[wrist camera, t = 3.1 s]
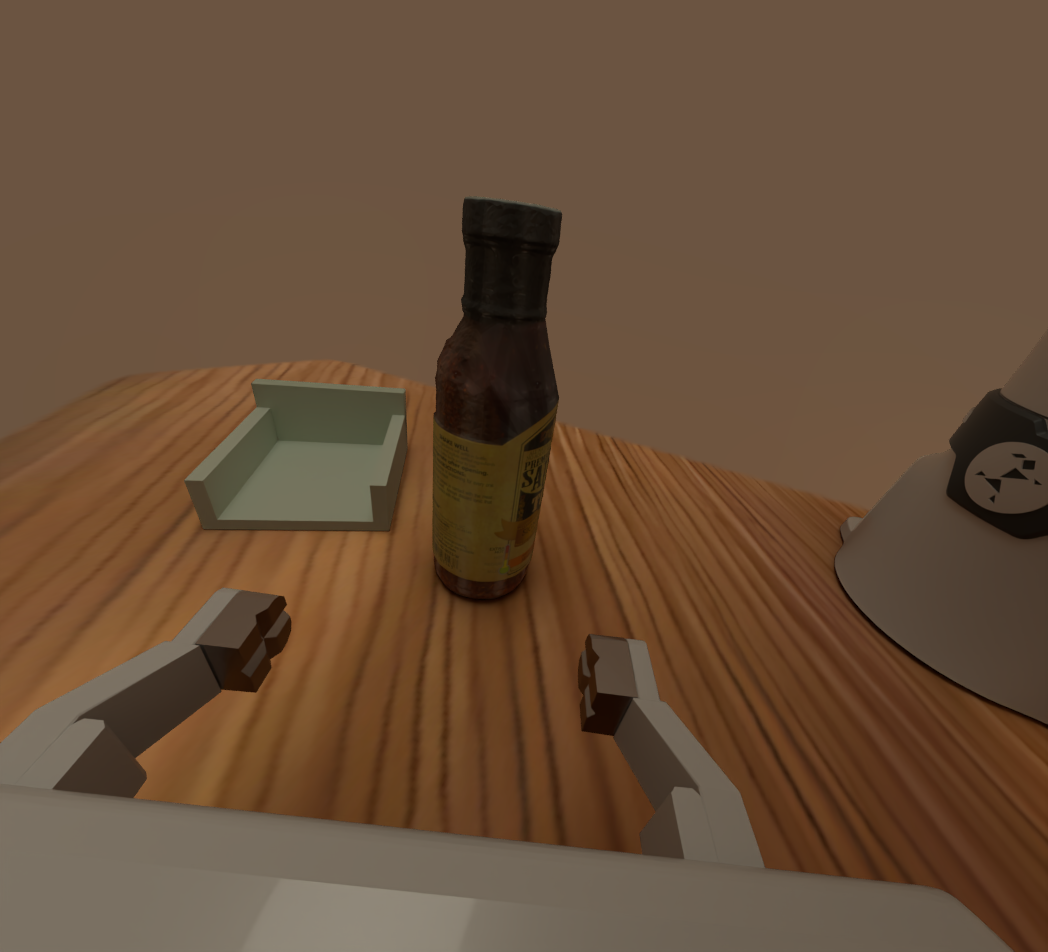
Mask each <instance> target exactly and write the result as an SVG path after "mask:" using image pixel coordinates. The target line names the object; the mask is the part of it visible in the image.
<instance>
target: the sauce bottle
mask: <svg viewBox="0 0 1048 952" xmlns="http://www.w3.org/2000/svg"><path fill="white" fill-rule="evenodd" d="M561 220H562V213H561V211H560V210H558V209H553V208H549V207H545V206H541V205H536V204H529V203H523V202H517V201H509V200H503V199H493V198H485V197H465V199H464V203H463V218H462V233H463V241H464V245H465V248H466V259H465V284H464V295H463V297H462V299H461V302H462V310H463V312H464V317H463V318H462V320H461V321H460V323H459V325H458V326H457V328H456V330H455V332H454V334H453V335H452V336H451V338H449V339H447V340H446V343H445V346H444V348H443V350H442V352H441V354H440V356H439V358H438V361H437V373H436V377H435V381H436V412H435V413H434V417H433V552H434V562H435V569H436V571H437V574H438V576H439V577H440V579H441V580H442V582H443V584H444V585H445V586H446V587H448V588H449V589H450V590H452V591H454V592H455V593H456V594H458V595H461V596H465V597H468V598H477V599H493V598H498V597H500V596H503V595H505V594H507V593H509V592H511V591H512V590H513V589H514V588H516V587H517V586H518V585H519V583H520V582H521V581H522V579H523V577H524V575H525V574H526V570H527V567H528V565H529V562H530V560H531V557H532V553H533V548H534V541H535V536H536V530H537V524H538V519H539V513H540V507H541V501H542V497H543V491H544V483H545V480H546V472H547V467H548V462H549V455H550V450H551V442H552V437H553V431H554V426H555V421H556V413H557V407H558V400H559V395H558V390H557V385H556V380H555V374H554V369H553V364H552V358H551V353H550V348H549V341H548V334H547V328H546V321H545V318H546V314H547V307H546V303H547V294H548V287H549V281H550V274H551V263H552V262H551V261H552V257H553V255H554V253H555V252H556V249H557V247H558V245H559V239H560V229H561Z"/></svg>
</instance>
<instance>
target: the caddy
mask: <svg viewBox="0 0 1048 952" xmlns="http://www.w3.org/2000/svg"><path fill="white" fill-rule="evenodd" d="M251 385H252V389H253V393H254V397H255V401H256V405H257V408H256V409H255V410H254V411H253V412H252V413H251V414H250V415H249V416H248V417H247V418H246V419H245V420H244V421H243V422H242V423H241V424H240V425H239V426H238V427H237V428H236V429H235V430H234V431H233V432H232V433H231V434H230V435H229V436H228V437H227V438H226V439H225V440H224V441H223V442H222V443H221V444H220V445H219V446H218V447H217V448H216V449H215V450H214V451H213V452H212V453H211V454H210V455H209V456H208V457H207V458H206V459H205V460H204V461H203V462H202V463H201V464H200V465H199V466H198V467H197V468H196V469H195V470H194V471H193V472H192V473H191V474H190V475H189V476H188V477H187V478H186V479H185V480H184V481H185V484H186V486H187V489H188V491H189V494H190V496H191V499H192V502H193V504H194V507H195V509H196V512H197V514H198V517H199V519H200V522H201V524H202V527H203V529H248V530H355V531H389V530H390V525H391V521H392V516H393V512H394V507H395V503H396V498H397V494H398V489H399V484H400V480H401V475H402V471H403V466H404V462H405V457H406V453H407V422H406V395H405V389H400V388H385V387H370V386H355V385H341V384H326V383H311V382H296V381H281V380H266V379H256V380H255V381H253V382H252V383H251Z"/></svg>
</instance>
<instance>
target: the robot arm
mask: <svg viewBox="0 0 1048 952" xmlns="http://www.w3.org/2000/svg"><path fill="white" fill-rule="evenodd" d="M949 442H950V445H951V449H949V450H947V451H945V452H943V453H936V454H931V455H925V456H922V457H920V458H919V459H917V460H916V461H915V462H914V463H913V464H912V465H911V466H910V467H909V468H908V469H907V470H906V471H905V472H904V474H903V475H902V476H901V477H900V478H899V479H898V480H897V481H896V482H895V483H894V484H893V486H892V487H891V488H890V489H889V490H888V491H887V492H886V493H885V494H884V495H883V497H882V498H881V499H880V500H879V501H878V502H877V503H876V504H875V505H874V507H873V508H872V509H871V510H870V511H869V512H868V513H867V514H866V515H865V517H864V518H859V517H849V518H848V519H847V520H846V521H845V522H844V523H843V524H842V525H841V527H840V530H841V534H842V537H843V540H844V543H843V546H842V547H841V548H840V550H839V551H838V552H837V554H836V557H835V568H836V572H837V575H838V577H839V580H840V581H841V583H842V585H843V587H844V588H845V590H846V592H847V593H848V594H849V596H850V597H851V598H852V600H853V601H854V602H855V603H856V605H857V606H858V607H859V608H860V609H861V610H862V611H863V612H864V613H865V614H866V615H867V616H868V617H869V618H870V619H871V620H872V621H873V622H874V623H875V624H876V625H877V626H878V627H879V628H880V629H881V630H882V631H884V632H885V633H886V634H887V635H888V636H889V637H891V638H892V639H893V640H894V641H896V642H897V643H898V644H899V645H901V646H902V647H903V648H905V649H906V650H907V651H909V652H910V653H911V654H913V655H914V656H916V657H917V658H918V659H920V660H921V661H923V662H924V663H926V664H927V665H929V666H930V667H932V668H934V669H935V670H937V671H938V672H940V673H941V674H943V675H945V676H946V677H948V678H950V679H952V680H953V681H955V682H957V683H959V684H960V685H962V686H964V687H966V688H968V689H970V690H972V691H974V692H975V693H977V694H979V695H981V696H984V697H986V698H988V699H990V700H992V701H994V702H996V703H999V704H1001V705H1003V706H1006V707H1008V708H1011V709H1013V710H1015V711H1018V712H1020V713H1023V714H1025V715H1028V716H1030V717H1032V718H1035V719H1037V720H1039V721H1041V722H1043V723H1045V724H1047V725H1048V329H1047V331H1046V332H1045V333H1044V335H1043V336H1042V337H1041V339H1040V340H1039V342H1038V343H1037V344H1036V346H1035V347H1034V348H1033V350H1032V351H1031V352H1030V354H1029V355H1028V356H1027V358H1026V359H1025V360H1024V362H1023V363H1022V364H1021V365H1020V367H1019V368H1018V369H1017V371H1016V372H1015V373H1014V374H1013V376H1012V377H1011V378H1010V379H1009V381H1008V382H1007V383H1006V384H1005V386H1004V387H1003V388H1001V389H996V390H993V391H990V392H988V393H987V394H986V396H985V397H984V398H983V399H982V400H981V401H980V402H979V404H978V405H977V406H976V407H974V408H972V409H971V410H970V411H969V413H968V414H967V415H966V416H965V417H964V418H963V423H962V424H961V426H960V427H959V428H958V429H957V431H956V432H955V433H954V434H953V436H952V437H951V438H950V440H949ZM286 605H287V604H286V601H285V598H284V596H278V595H271V594H264V593H257V592H250V591H244V590H237V589H229V588H222V589H220V590H218V591H217V592H215V593H214V594H213V595H212V597H211V598H210V599H209V600H208V601H207V602H206V603H205V604H204V605H203V607H202V608H201V609H200V610H199V611H198V612H197V613H196V614H195V616H194V617H193V618H192V619H191V620H190V621H189V622H188V623H187V625H186V626H185V627H184V628H183V629H182V630H181V631H180V632H179V633H178V635H177V636H176V637H175V638H174V639H173V640H172V641H171V642H169V641H164V642H162V643H161V644H159V645H157V646H155V647H153V648H151V649H149V650H147V651H146V652H144V653H142V654H140V655H138V656H136V657H134V658H132V659H130V660H129V661H127V662H125V663H123V664H121V665H119V666H117V667H115V668H114V669H112V670H110V671H108V672H106V673H104V674H102V675H100V676H98V677H97V678H95V679H93V680H91V681H89V682H87V683H85V684H83V685H82V686H80V687H78V688H76V689H74V690H72V691H70V692H68V693H66V694H65V695H63V696H61V697H59V698H57V699H55V700H53V701H51V702H50V703H48V704H46V705H44V706H42V707H40V708H38V709H36V710H35V711H34V712H33V713H32V714H31V715H29V716H28V717H27V718H26V719H25V720H24V721H23V722H22V723H21V724H20V725H19V726H18V727H17V728H16V729H15V730H14V731H13V732H12V733H11V734H10V735H9V736H8V737H6V738H5V739H4V740H3V741H2V742H1V743H0V952H1014V951H1013V950H1012V949H1011V948H1010V947H1009V946H1008V945H1007V944H1006V943H1005V942H1004V941H1003V940H1002V939H1001V938H1000V937H999V936H997V935H996V934H995V933H994V932H993V931H992V930H991V929H990V928H989V927H988V926H987V925H986V924H984V923H983V922H982V921H981V920H980V919H979V918H978V917H977V916H976V915H975V914H974V913H972V912H971V911H970V910H969V909H968V908H967V907H966V906H964V905H963V904H962V903H961V902H960V901H959V900H958V899H956V898H955V897H953V896H952V895H950V894H949V893H947V892H945V891H943V890H941V889H937V888H933V887H929V886H923V885H914V884H905V883H896V882H887V881H878V880H869V879H860V878H851V877H842V876H833V875H824V874H815V873H806V872H797V871H788V870H778V869H769V868H765V866H764V863H763V860H762V857H761V854H760V851H759V848H758V845H757V842H756V839H755V836H754V833H753V830H752V827H751V824H750V821H749V818H748V815H747V812H746V809H745V806H744V803H743V800H742V797H741V794H740V792H739V791H738V790H737V788H736V787H735V786H734V785H733V784H732V782H731V781H730V780H729V779H728V777H727V776H726V775H725V774H724V773H723V771H722V770H721V769H720V768H719V766H718V765H717V764H716V763H715V762H714V760H713V759H712V758H711V757H710V755H709V754H708V753H707V752H706V751H705V749H704V748H703V747H702V746H701V744H700V743H699V742H698V741H697V739H696V738H695V737H694V736H693V735H692V733H691V732H690V731H689V730H688V728H687V727H686V726H685V725H684V724H683V722H682V721H681V720H680V719H679V717H678V716H677V715H676V714H675V713H674V711H673V710H672V709H671V708H670V706H669V705H668V704H667V703H666V702H663V701H660V698H659V694H658V690H657V685H656V681H655V677H654V673H653V669H652V665H651V660H650V656H649V652H648V648H647V644H646V643H645V642H644V641H642V640H633V639H625V638H621V637H612V636H603V635H594V634H589V635H588V636H587V638H586V641H585V648H586V650H585V651H583V652H582V653H581V656H580V659H579V666H578V688H579V690H580V691H581V693H582V694H583V697H582V700H581V702H580V718H581V731H583V732H590V733H596V734H603V735H610V736H614V737H613V738H614V740H615V742H616V743H617V745H618V747H619V749H620V750H621V752H622V754H623V755H624V757H625V759H626V761H627V762H628V764H629V766H630V768H631V769H632V771H633V773H634V775H635V776H636V778H637V780H638V782H639V783H640V785H641V787H642V788H643V790H644V792H645V794H646V795H647V797H648V799H649V801H650V802H651V804H652V806H653V808H654V809H655V811H656V812H655V814H654V815H653V816H652V818H651V819H650V820H649V822H648V823H647V824H646V826H645V827H644V828H643V830H642V831H641V832H640V840H641V847H642V854H634V853H625V852H616V851H607V850H598V849H589V848H580V847H571V846H562V845H552V844H543V843H534V842H525V841H516V840H507V839H498V838H489V837H480V836H471V835H462V834H453V833H444V832H435V831H426V830H417V829H408V828H399V827H390V826H381V825H372V824H363V823H354V822H345V821H335V820H326V819H317V818H308V817H299V816H290V815H281V814H272V813H263V812H254V811H245V810H236V809H227V808H218V807H209V806H200V805H191V804H181V803H172V802H163V801H154V800H145V799H136V798H134V796H135V795H136V794H137V792H138V791H139V789H140V788H141V786H142V785H143V783H144V782H145V781H146V779H147V775H146V771H145V770H144V769H143V768H142V766H141V765H140V764H139V763H138V762H137V760H136V759H135V758H136V757H137V756H139V755H140V754H141V753H143V752H144V751H145V750H146V749H148V748H149V747H150V746H152V745H153V744H154V743H156V742H157V741H158V740H159V739H161V738H162V737H163V736H165V735H166V734H167V733H169V732H170V731H171V730H172V729H174V728H175V727H176V726H178V725H179V724H180V723H181V722H183V721H184V720H185V719H187V718H188V717H189V716H191V715H192V714H193V713H194V712H196V711H197V710H198V709H200V708H201V707H202V706H204V705H205V704H206V703H207V702H209V701H210V700H211V699H213V698H214V697H215V696H216V695H218V694H219V693H220V692H221V690H232V691H243V692H255V693H256V692H257V691H258V689H259V687H260V686H261V684H262V683H263V681H264V679H265V678H266V676H267V674H268V673H269V671H270V670H271V660H270V659H271V658H273V657H274V656H276V655H277V654H279V653H281V652H282V650H283V648H284V647H285V645H286V643H287V641H288V638H289V635H290V632H291V618H290V616H289V615H288V614H287V613H286V612H285V611H284V608H285V607H286Z"/></svg>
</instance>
